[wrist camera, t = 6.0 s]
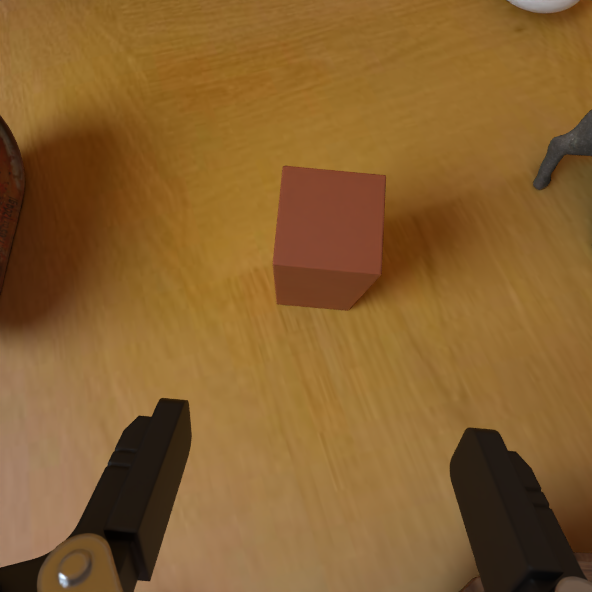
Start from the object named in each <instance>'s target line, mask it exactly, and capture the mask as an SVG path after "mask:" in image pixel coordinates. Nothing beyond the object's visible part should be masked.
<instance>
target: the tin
mask: <svg viewBox="0 0 592 592" xmlns="http://www.w3.org/2000/svg"><path fill="white" fill-rule="evenodd" d="M24 189H25V175H24V166H23V161H22V157H21V153H20V150H19V147H18V145H17V142H16V140H15V138H14V136H13V134H12V132H11V130H10V128H9V127H8V125H7V124H6V122H5V121H4V120H3V118H2V117H1V115H0V293H1V289H2V284H3V280H4V276H5V272H6V267H7V263H8V258H9V254H10V250H11V246H12V241H13V237H14V233H15V229H16V225H17V221H18V217H19V213H20V208H21V204H22V200H23V195H24Z"/></svg>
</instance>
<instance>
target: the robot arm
mask: <svg viewBox="0 0 592 592" xmlns="http://www.w3.org/2000/svg"><path fill="white" fill-rule="evenodd" d="M191 437H192V433H191V422H190V411H189V402H188V400H179V399H169V398H161V399H160V400H159V402H158V404H157V406H156V408H155V410H154V413H153V415H152V417H149V416H138V417H137V418H136V419H135V420H134V421H133V422H132V423H131V424H130V425H129V426H128V427H127V428H126V429H125V430H124V431H123V433H122V435H121V437H120V439H119V441H118V443H117V445H116V447H115V451H114V452H113V453H112V456H111V458H110V460H109V462H108V466H107V467H106V468H105V470H104V472H103V474H102V476H101V478H100V480H99V482H98V484H97V486H96V488H95V490H94V492H93V494H92V496H91V498H90V500H89V502H88V505H87V507H86V509H85V511H84V513H83V515H82V517H81V519H80V521H79V523H78V525H77V526H76V528H75V529H74V531H73V532H72V534H71V535H70V536H69V537H68V538H67V539H66V540H65V541H64V542H62V543H61V544H59V545H58V546H57V547H56V548H55V549H54V550H52V551H51V552H49V553H47V554H45V555H43V556H41V557H38V558H35V559H32V560H28V561H24V562H20V563H17V564H13V565H9V566H5V567H1V568H0V592H134V589H135V586H136V583H137V580H140V581H150V580H151V576H152V573H153V570H154V567H155V563H156V560H157V557H158V554H159V550H160V547H161V544H162V541H163V537H164V534H165V531H166V527H167V524H168V521H169V518H170V514H171V511H172V508H173V505H174V501H175V498H176V495H177V492H178V488H179V485H180V482H181V478H182V475H183V472H184V469H185V465H186V462H187V459H188V455H189V451H190V446H191ZM450 477H451V482H452V485H453V489H454V492H455V495H456V499H457V502H458V505H459V508H460V512H461V515H462V518H463V522H464V525H465V528H466V532H467V535H468V538H469V542H470V545H471V548H472V551H473V555H474V558H475V561H476V565H477V568H478V571H479V575H480V578H481V581H482V585H483V588H484V591H485V592H592V583H591V582H590V581H588V579H587V578H586V576H585V575H584V573H583V571H582V569H581V568H580V565H579V563H578V561H577V559H576V557H575V555H574V553H573V551H572V549H571V547H570V545H569V543H568V541H567V539H566V537H565V535H564V533H563V531H562V529H561V527H560V525H559V523H558V521H557V519H556V517H555V515H554V513H553V511H552V509H550V508H549V503H548V501H547V499H546V497H545V495H544V493H543V492H541V487H540V485H539V483H538V481H537V479H536V477H535V475H534V473H533V471H532V469H531V468H530V467H529V466H528V464H527V463H526V462H525V461H524V460H523V459H522V458H521V457H520V456H519V454H518V453H517V452H515V451H508V450H507V448H506V446H505V444H504V441H503V439H502V437H501V435H500V434H499V432H498V431H496V430H491V429H480V428H467V429H466V430H465V432H464V434H463V436H462V438H461V440H460V442H459V444H458V446H457V448H456V450H455V452H454V454H453V456H452V458H451V462H450Z"/></svg>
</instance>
